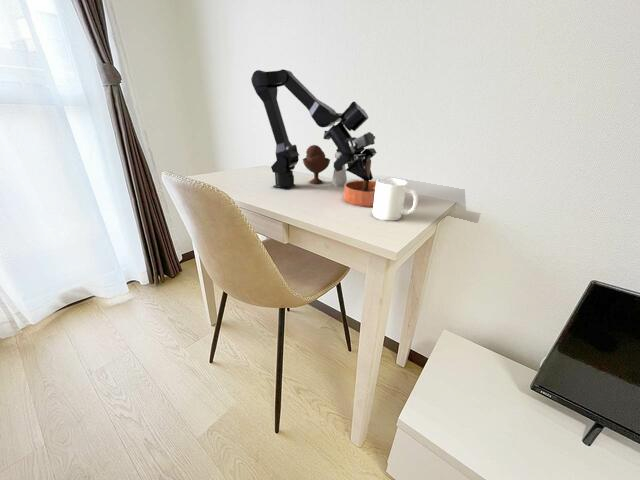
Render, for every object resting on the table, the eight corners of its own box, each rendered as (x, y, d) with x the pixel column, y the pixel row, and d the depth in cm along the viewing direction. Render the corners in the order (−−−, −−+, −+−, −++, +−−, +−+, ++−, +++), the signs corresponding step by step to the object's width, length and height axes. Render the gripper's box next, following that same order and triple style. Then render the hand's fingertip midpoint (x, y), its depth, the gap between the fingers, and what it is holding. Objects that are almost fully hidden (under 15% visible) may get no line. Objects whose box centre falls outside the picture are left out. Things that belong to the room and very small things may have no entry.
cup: (378, 208, 81) (383, 176, 76) (417, 217, 75) (424, 182, 70) (367, 216, 75) (371, 182, 70) (409, 226, 69) (416, 189, 64)
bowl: (336, 202, 85) (337, 188, 83) (351, 191, 97) (352, 178, 94) (379, 210, 80) (381, 194, 77) (389, 197, 91) (392, 183, 89)
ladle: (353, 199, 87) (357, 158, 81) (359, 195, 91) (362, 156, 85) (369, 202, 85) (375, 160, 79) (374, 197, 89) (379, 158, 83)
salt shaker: (343, 182, 108) (344, 150, 102) (348, 186, 104) (350, 152, 98) (330, 183, 107) (331, 150, 101) (334, 187, 102) (336, 153, 96)
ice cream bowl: (329, 186, 103) (330, 146, 97) (301, 185, 104) (301, 146, 97) (329, 179, 113) (330, 143, 106) (303, 179, 113) (303, 142, 106)
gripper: (343, 124, 73) (374, 169, 72) (374, 122, 86) (400, 160, 85) (321, 150, 81) (348, 191, 80) (352, 145, 94) (376, 180, 93)
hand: (370, 180), depth 84 cm, fingers closed on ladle, 2 cm apart
